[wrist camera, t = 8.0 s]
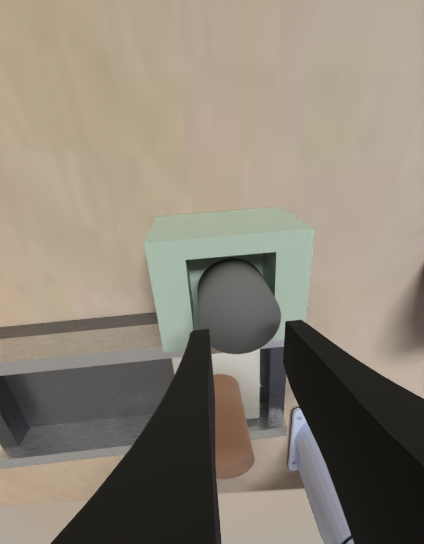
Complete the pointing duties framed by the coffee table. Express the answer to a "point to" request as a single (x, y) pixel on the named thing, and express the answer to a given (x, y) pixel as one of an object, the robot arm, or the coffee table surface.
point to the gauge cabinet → (223, 245)
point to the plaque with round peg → (234, 409)
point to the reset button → (237, 307)
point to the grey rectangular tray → (99, 388)
